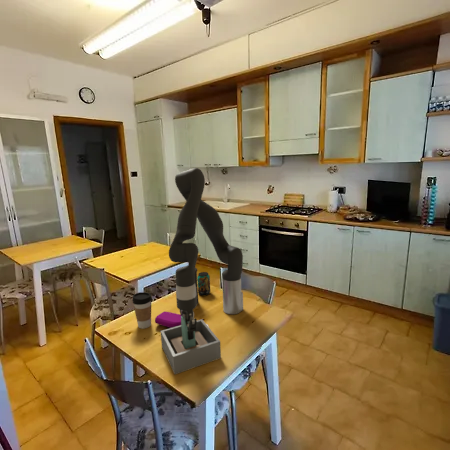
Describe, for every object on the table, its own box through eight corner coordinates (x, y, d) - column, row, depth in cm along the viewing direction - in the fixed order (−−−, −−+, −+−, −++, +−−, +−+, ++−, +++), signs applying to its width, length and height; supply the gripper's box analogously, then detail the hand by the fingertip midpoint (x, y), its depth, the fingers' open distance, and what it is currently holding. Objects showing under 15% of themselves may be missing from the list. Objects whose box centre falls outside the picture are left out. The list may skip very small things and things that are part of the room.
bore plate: (198, 337, 117) (198, 330, 117) (210, 353, 107) (209, 346, 106) (170, 346, 112) (170, 339, 112) (180, 364, 102) (179, 356, 101)
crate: (202, 333, 121) (202, 319, 120) (220, 357, 106) (220, 341, 104) (161, 346, 114) (160, 330, 112) (174, 374, 98) (173, 356, 96)
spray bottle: (164, 316, 137) (211, 327, 130) (152, 324, 126) (202, 337, 119) (165, 310, 137) (212, 321, 129) (152, 317, 126) (203, 330, 119)
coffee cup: (137, 320, 134) (134, 291, 131) (155, 319, 134) (152, 290, 131) (133, 330, 126) (129, 299, 123) (152, 329, 126) (149, 298, 123)
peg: (192, 341, 112) (190, 313, 109) (195, 347, 108) (194, 318, 106) (182, 344, 110) (180, 316, 108) (185, 350, 106) (184, 321, 104)
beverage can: (203, 297, 156) (202, 277, 154) (195, 293, 161) (194, 273, 159) (212, 293, 161) (212, 273, 158) (205, 289, 166) (204, 270, 163)
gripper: (202, 300, 100) (204, 343, 104) (189, 285, 113) (191, 324, 116) (182, 304, 97) (185, 349, 100) (171, 289, 110) (174, 329, 113)
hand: (188, 335), depth 108 cm, fingers closed on peg, 4 cm apart
